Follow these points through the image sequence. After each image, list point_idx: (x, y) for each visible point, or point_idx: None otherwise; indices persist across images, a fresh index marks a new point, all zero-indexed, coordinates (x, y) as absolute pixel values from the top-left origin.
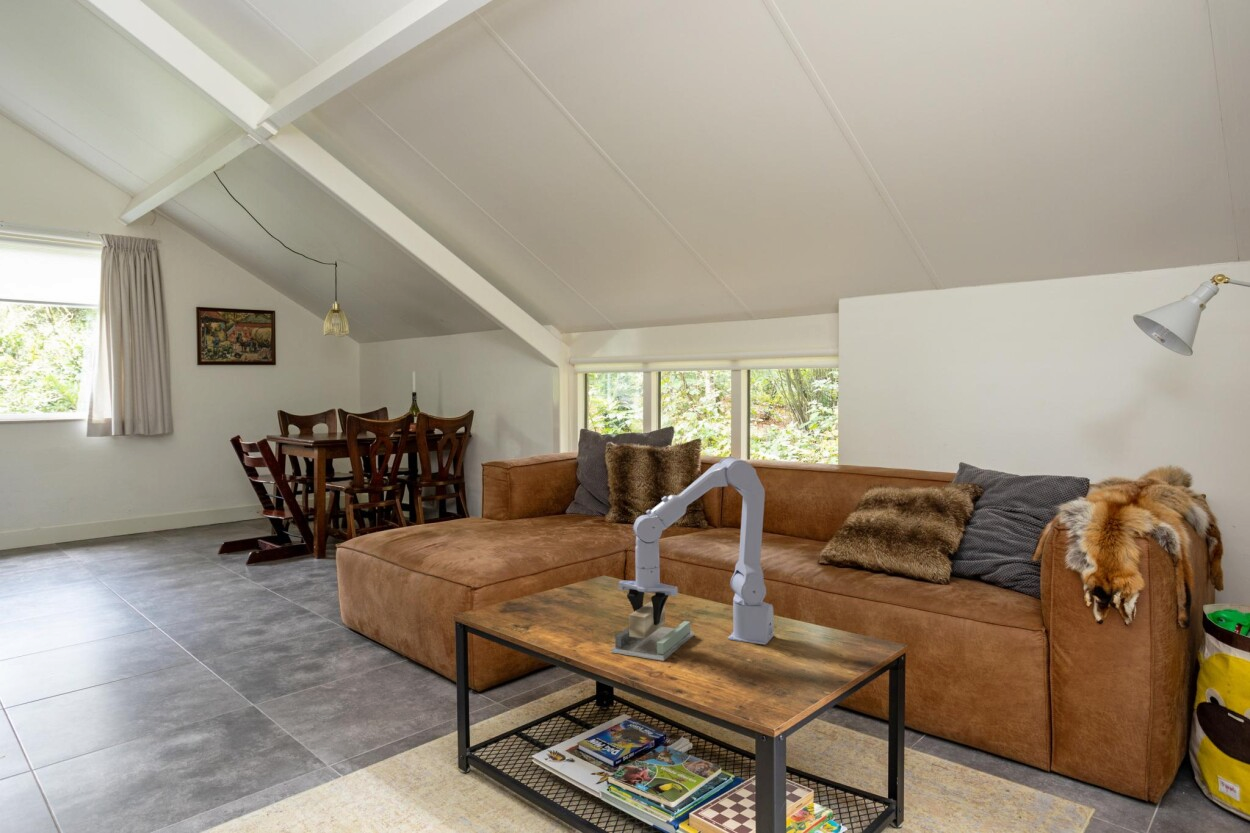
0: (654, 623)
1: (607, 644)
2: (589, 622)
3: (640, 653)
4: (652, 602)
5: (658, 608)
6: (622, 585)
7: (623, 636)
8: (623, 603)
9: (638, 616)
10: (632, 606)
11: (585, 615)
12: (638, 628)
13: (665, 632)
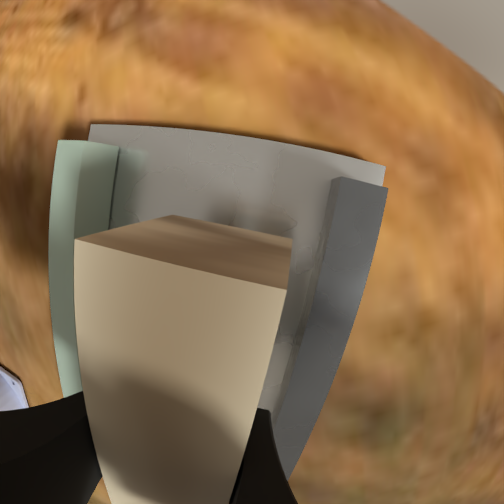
0: None
1: (422, 295)
2: (471, 467)
3: (201, 131)
4: (21, 451)
5: (25, 408)
6: None
7: (332, 218)
8: None
9: (144, 256)
10: (291, 498)
11: (470, 494)
12: (196, 232)
13: None
